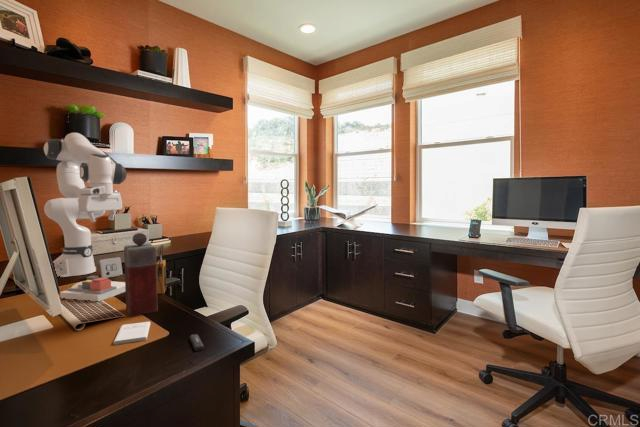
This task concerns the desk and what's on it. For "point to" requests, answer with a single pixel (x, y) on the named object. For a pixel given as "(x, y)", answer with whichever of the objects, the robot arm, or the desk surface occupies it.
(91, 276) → the plain toggle
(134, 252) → the decanter
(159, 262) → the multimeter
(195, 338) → the usb stick
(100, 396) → the desk surface
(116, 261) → the electrical switch
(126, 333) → the external hard drive
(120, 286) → the panel
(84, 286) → the tagged toggle
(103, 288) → the lockout cap
